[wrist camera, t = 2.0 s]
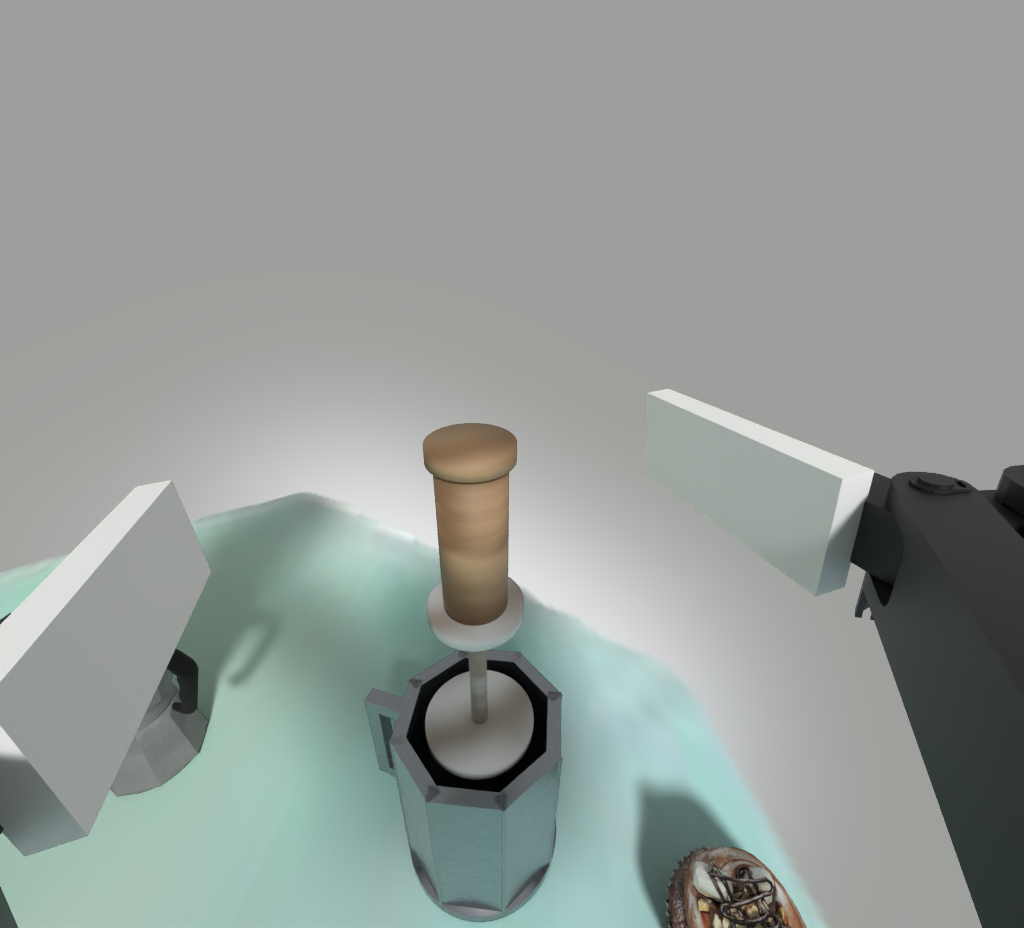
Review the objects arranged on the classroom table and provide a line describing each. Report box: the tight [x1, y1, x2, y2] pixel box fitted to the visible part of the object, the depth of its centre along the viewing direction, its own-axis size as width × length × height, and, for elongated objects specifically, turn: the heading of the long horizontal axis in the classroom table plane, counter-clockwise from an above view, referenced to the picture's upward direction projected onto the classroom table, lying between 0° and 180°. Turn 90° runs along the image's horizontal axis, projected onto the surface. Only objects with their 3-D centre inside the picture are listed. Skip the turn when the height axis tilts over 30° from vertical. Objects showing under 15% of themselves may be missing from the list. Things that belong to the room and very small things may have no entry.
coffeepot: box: [110, 649, 208, 796], centre depth 44 cm, size 15×9×18 cm, turn 82°
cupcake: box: [666, 845, 806, 928], centre depth 33 cm, size 10×10×10 cm
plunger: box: [423, 423, 534, 780], centre depth 30 cm, size 8×8×23 cm
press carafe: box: [365, 650, 562, 922], centre depth 40 cm, size 16×13×16 cm
